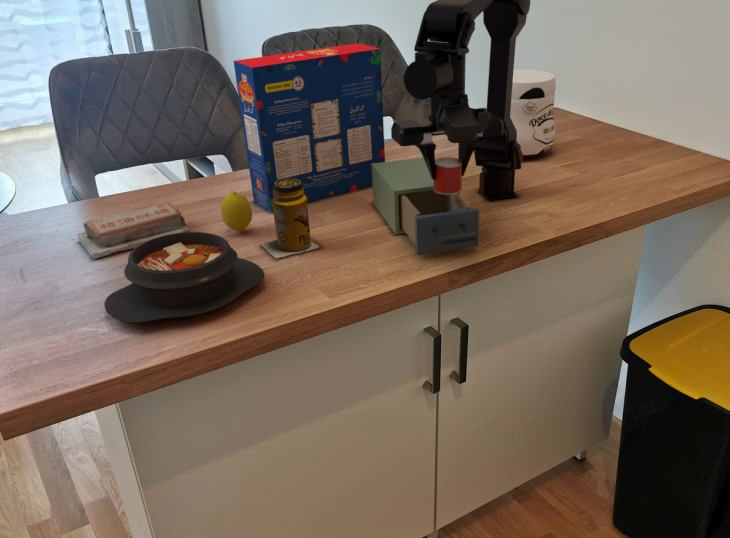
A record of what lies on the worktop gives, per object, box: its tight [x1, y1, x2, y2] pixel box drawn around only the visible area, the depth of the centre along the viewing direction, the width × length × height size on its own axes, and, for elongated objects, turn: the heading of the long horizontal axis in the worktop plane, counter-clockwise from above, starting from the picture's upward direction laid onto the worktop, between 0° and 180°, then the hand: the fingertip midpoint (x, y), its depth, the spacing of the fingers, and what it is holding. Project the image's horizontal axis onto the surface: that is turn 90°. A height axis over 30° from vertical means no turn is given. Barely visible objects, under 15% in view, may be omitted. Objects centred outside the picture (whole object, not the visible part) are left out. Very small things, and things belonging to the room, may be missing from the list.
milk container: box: [510, 68, 556, 159], centre depth 173 cm, size 17×17×18 cm
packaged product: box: [76, 202, 191, 260], centre depth 135 cm, size 18×5×10 cm
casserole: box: [103, 231, 265, 324], centre depth 114 cm, size 25×19×8 cm
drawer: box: [398, 190, 480, 256], centre depth 130 cm, size 21×11×7 cm, turn 18°
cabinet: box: [371, 157, 460, 235], centre depth 142 cm, size 17×13×9 cm
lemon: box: [220, 191, 253, 233], centre depth 136 cm, size 6×6×8 cm
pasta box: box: [233, 42, 386, 214], centre depth 149 cm, size 28×8×28 cm, turn 127°
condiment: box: [260, 178, 320, 259], centre depth 129 cm, size 7×8×12 cm
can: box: [433, 156, 463, 195], centre depth 128 cm, size 5×5×5 cm
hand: (447, 177), depth 129 cm, fingers closed on can, 5 cm apart
